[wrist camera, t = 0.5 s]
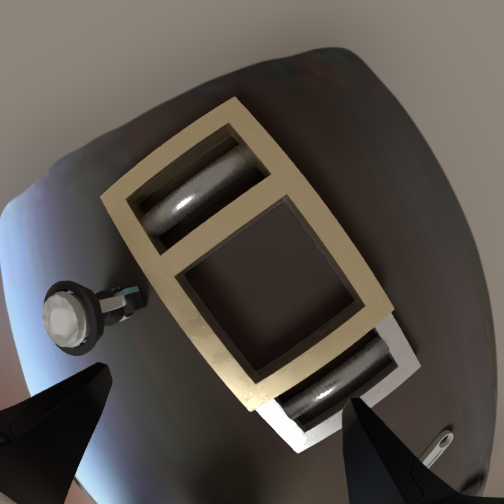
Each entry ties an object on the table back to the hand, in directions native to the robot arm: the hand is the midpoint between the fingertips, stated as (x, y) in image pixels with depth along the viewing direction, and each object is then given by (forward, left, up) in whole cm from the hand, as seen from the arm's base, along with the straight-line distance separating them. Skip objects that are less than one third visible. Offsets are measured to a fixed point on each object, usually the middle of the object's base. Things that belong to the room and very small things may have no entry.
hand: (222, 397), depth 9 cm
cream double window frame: (+3, +1, -15) cm, 16 cm away
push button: (-10, +8, -16) cm, 20 cm away
